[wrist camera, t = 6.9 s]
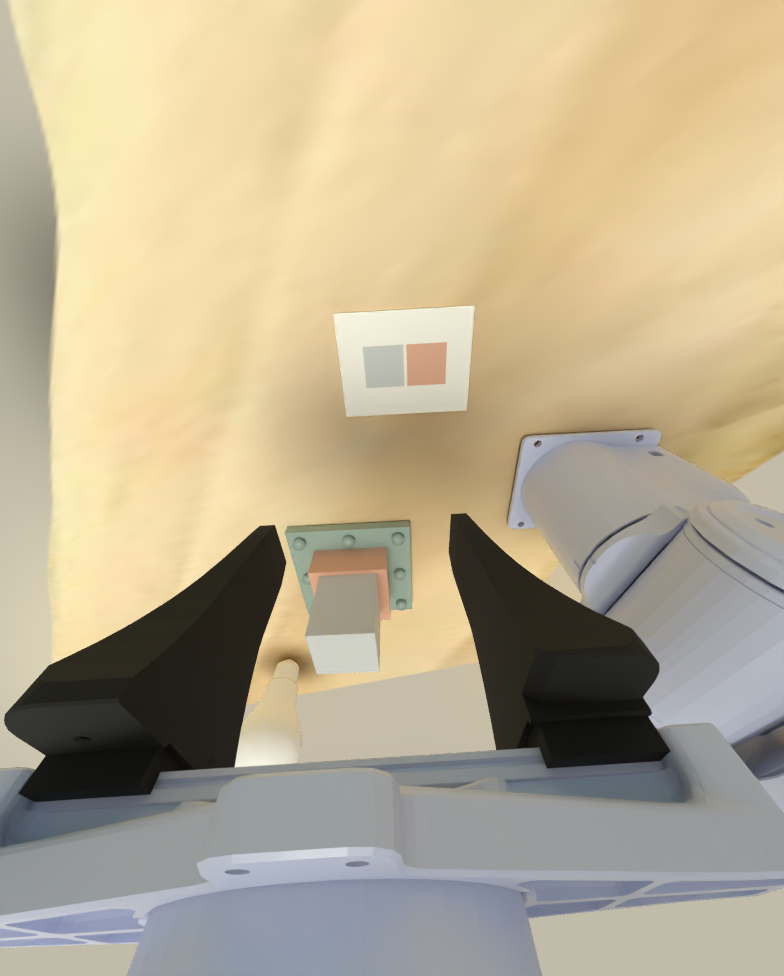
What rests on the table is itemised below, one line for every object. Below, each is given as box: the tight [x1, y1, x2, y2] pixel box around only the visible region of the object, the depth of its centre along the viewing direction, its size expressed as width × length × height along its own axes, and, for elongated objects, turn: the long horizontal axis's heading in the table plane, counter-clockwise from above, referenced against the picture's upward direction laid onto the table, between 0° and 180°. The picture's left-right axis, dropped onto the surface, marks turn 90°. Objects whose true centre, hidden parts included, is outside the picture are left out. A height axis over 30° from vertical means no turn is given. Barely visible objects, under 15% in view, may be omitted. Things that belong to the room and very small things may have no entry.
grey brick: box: [305, 573, 380, 674], centre depth 23 cm, size 4×4×5 cm
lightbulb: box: [235, 659, 302, 767], centre depth 31 cm, size 6×6×11 cm
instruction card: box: [333, 306, 475, 417], centre depth 19 cm, size 8×6×1 cm
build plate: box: [285, 521, 412, 614], centre depth 27 cm, size 10×10×1 cm
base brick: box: [308, 547, 390, 620], centre depth 26 cm, size 6×6×2 cm
